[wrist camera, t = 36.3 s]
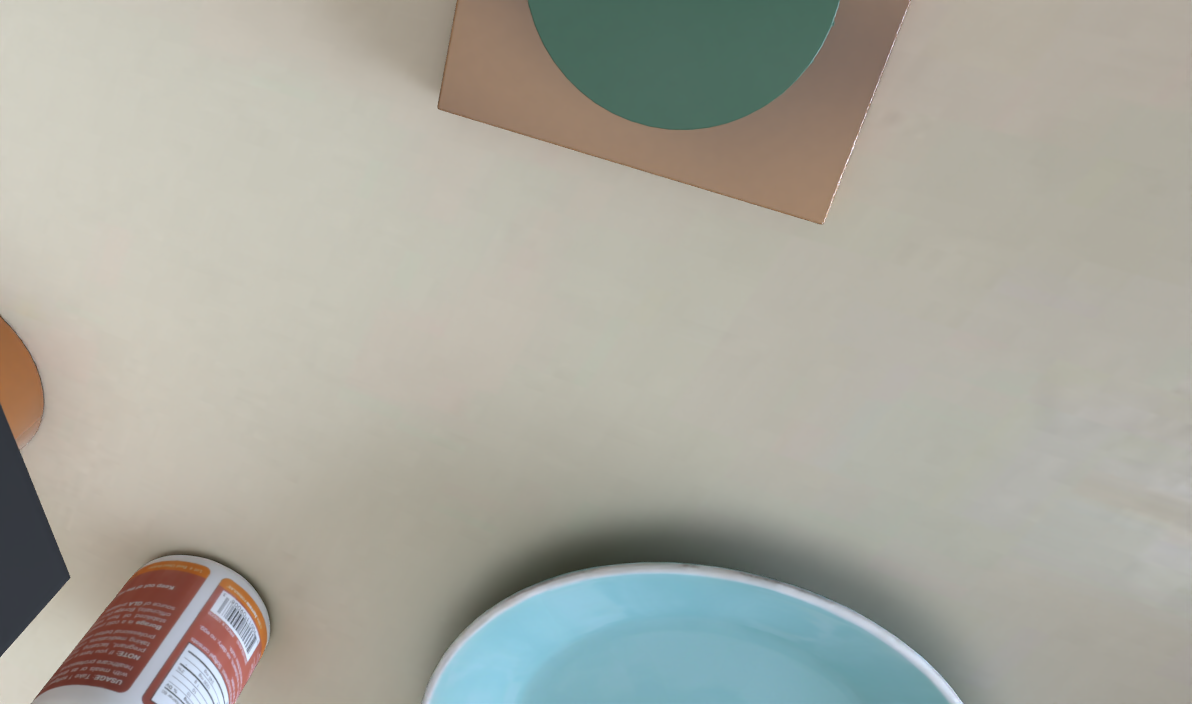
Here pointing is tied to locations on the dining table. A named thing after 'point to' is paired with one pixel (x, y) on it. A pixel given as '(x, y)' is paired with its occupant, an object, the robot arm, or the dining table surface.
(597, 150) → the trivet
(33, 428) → the jam jar
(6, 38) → the dining table surface
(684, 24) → the jar lid
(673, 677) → the plate
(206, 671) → the pill bottle
